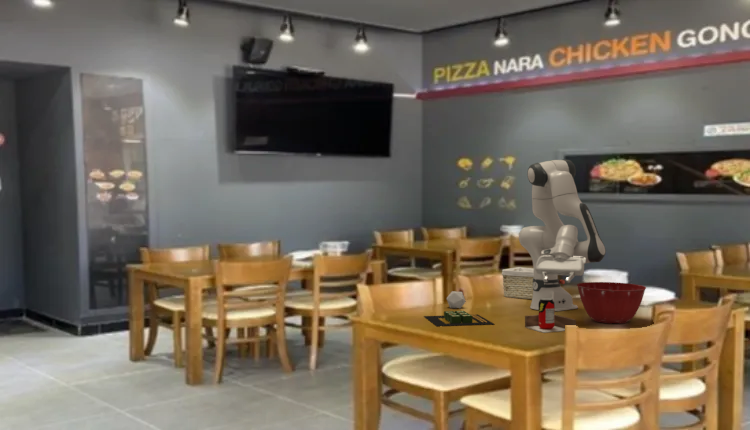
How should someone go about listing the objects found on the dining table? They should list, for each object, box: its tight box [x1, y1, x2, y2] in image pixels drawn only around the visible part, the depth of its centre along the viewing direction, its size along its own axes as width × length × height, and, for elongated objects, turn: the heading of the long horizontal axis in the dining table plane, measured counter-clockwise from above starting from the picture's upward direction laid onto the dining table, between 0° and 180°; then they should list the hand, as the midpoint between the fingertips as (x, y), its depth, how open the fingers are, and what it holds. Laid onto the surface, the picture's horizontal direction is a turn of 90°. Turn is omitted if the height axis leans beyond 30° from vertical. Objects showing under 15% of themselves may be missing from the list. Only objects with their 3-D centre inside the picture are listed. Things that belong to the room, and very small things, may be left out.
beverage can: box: [538, 298, 556, 329], centre depth 320 cm, size 6×6×12 cm
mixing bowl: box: [576, 281, 647, 324], centre depth 338 cm, size 28×28×16 cm
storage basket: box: [501, 266, 534, 301], centre depth 410 cm, size 24×16×15 cm
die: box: [446, 290, 466, 309], centre depth 376 cm, size 8×9×10 cm
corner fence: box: [524, 313, 577, 334], centre depth 320 cm, size 14×16×4 cm
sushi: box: [423, 310, 496, 328], centre depth 341 cm, size 25×25×4 cm
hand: (556, 281), depth 328 cm, fingers open, 8 cm apart
